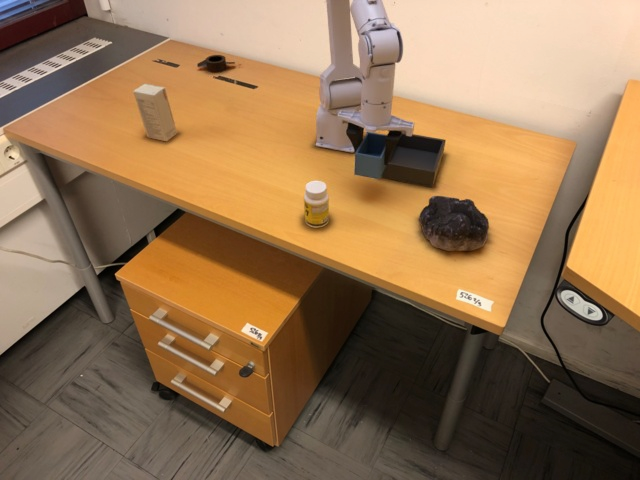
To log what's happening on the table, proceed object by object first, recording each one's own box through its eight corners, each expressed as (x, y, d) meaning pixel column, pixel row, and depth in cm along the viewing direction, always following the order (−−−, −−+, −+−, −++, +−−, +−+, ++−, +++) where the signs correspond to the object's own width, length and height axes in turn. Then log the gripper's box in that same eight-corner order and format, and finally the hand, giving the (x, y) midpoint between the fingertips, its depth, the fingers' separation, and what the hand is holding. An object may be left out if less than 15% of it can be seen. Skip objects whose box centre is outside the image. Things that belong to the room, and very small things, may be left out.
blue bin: (379, 179, 101) (381, 158, 97) (354, 174, 102) (354, 153, 98) (390, 156, 106) (392, 135, 103) (365, 152, 108) (367, 131, 104)
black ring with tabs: (211, 60, 158) (209, 51, 156) (238, 66, 154) (236, 57, 153) (195, 70, 153) (193, 60, 151) (223, 76, 150) (221, 67, 148)
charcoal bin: (381, 177, 112) (382, 162, 109) (395, 146, 121) (396, 131, 118) (432, 187, 109) (435, 172, 106) (443, 154, 118) (445, 139, 116)
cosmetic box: (177, 133, 127) (166, 87, 118) (166, 142, 124) (155, 95, 116) (156, 128, 129) (144, 82, 120) (145, 136, 126) (132, 90, 118)
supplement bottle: (304, 213, 104) (302, 179, 98) (327, 212, 104) (327, 178, 98) (305, 229, 100) (304, 195, 94) (329, 227, 100) (329, 193, 95)
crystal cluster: (441, 204, 106) (442, 164, 99) (504, 226, 99) (510, 185, 92) (405, 242, 99) (404, 202, 93) (470, 269, 92) (474, 228, 85)
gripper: (332, 101, 93) (332, 163, 102) (411, 113, 89) (403, 177, 99) (344, 84, 98) (343, 145, 107) (419, 95, 94) (411, 158, 103)
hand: (372, 159), depth 103 cm, fingers closed on blue bin, 5 cm apart
